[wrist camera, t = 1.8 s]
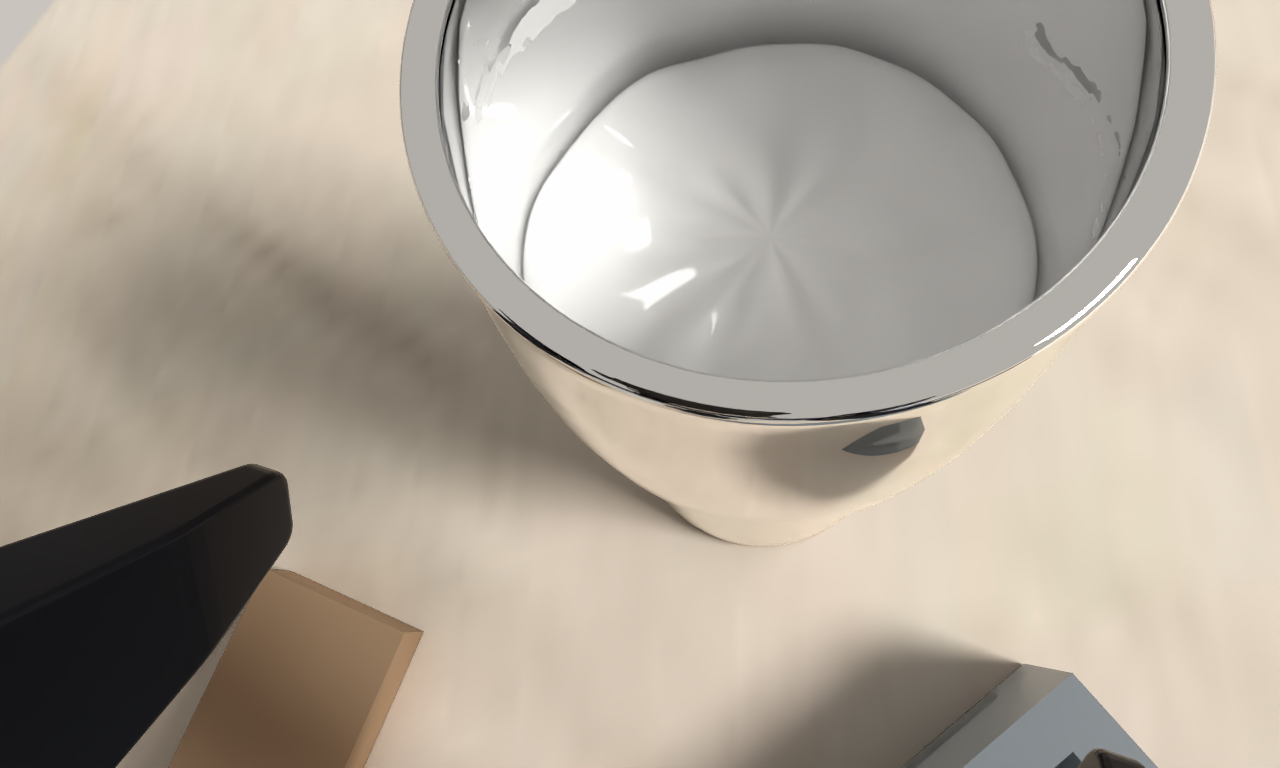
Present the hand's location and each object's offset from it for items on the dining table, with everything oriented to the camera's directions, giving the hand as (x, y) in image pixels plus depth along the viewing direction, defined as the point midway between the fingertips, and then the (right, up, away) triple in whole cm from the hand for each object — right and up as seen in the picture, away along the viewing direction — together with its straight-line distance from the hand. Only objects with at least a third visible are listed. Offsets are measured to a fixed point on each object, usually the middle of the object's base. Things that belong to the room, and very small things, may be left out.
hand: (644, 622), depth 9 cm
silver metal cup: (+3, +1, +12) cm, 13 cm away
